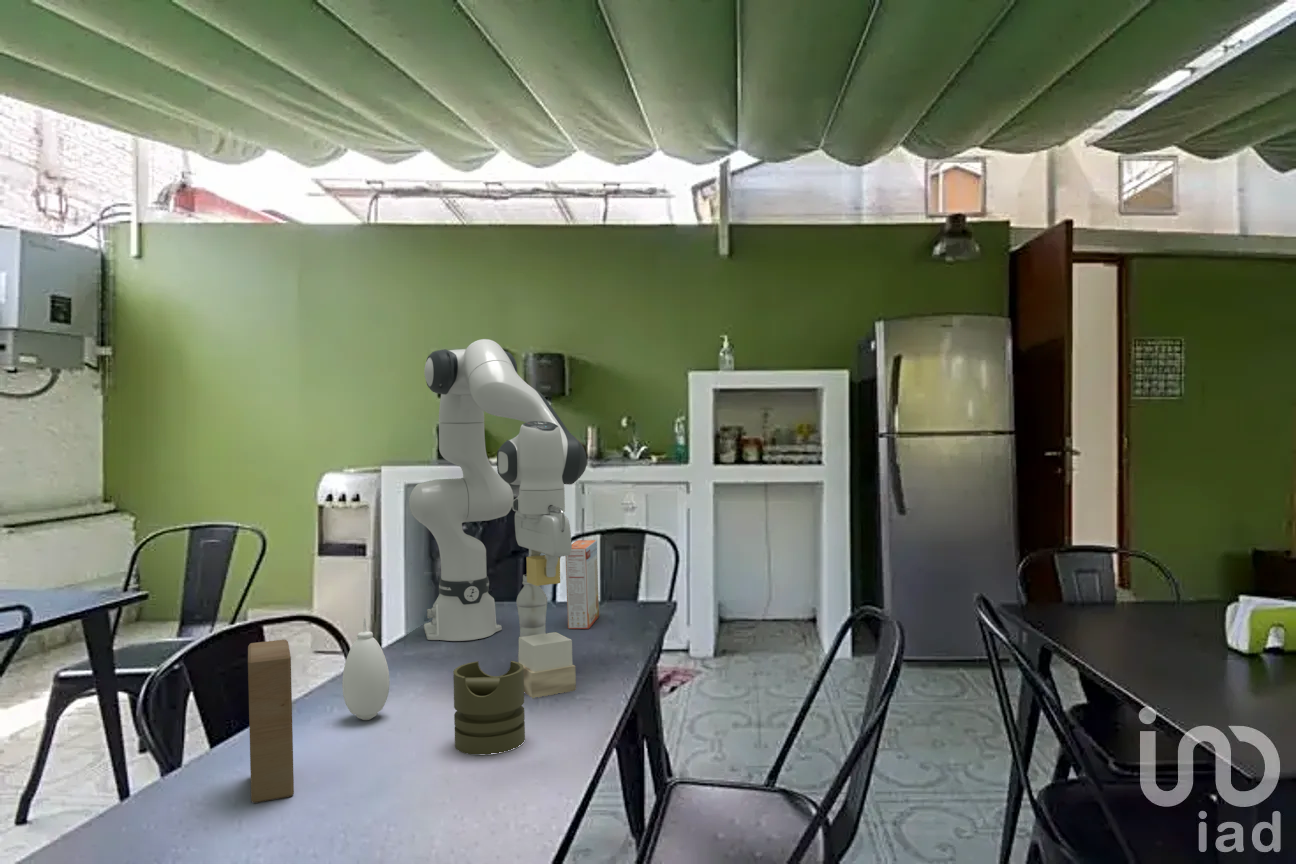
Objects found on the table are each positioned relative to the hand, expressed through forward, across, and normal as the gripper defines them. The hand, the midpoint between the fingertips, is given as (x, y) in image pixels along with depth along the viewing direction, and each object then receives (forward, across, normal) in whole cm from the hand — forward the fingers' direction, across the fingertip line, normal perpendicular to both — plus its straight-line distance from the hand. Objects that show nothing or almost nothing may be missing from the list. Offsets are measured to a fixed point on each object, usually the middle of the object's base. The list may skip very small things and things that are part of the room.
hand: (543, 574), depth 171 cm
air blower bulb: (+23, +1, +34) cm, 41 cm away
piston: (+23, -22, +19) cm, 37 cm away
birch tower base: (+23, 0, 0) cm, 23 cm away
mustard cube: (+2, 0, 0) cm, 2 cm away
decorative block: (+23, -22, +52) cm, 61 cm away
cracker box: (+23, +47, -30) cm, 60 cm away
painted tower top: (+18, 0, 0) cm, 18 cm away
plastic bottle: (+23, +14, -3) cm, 27 cm away
